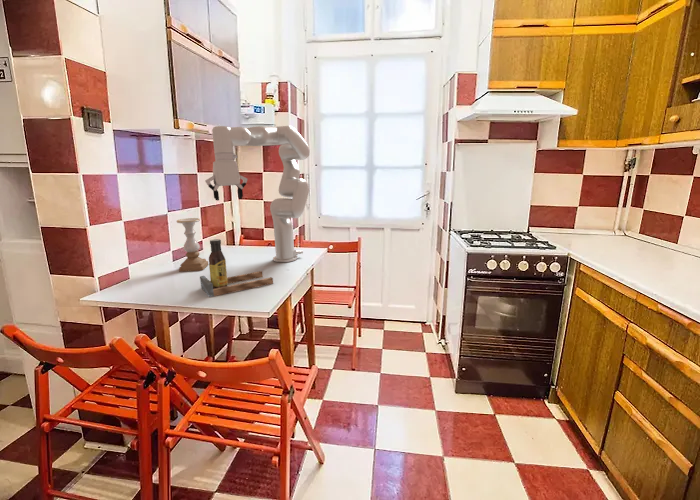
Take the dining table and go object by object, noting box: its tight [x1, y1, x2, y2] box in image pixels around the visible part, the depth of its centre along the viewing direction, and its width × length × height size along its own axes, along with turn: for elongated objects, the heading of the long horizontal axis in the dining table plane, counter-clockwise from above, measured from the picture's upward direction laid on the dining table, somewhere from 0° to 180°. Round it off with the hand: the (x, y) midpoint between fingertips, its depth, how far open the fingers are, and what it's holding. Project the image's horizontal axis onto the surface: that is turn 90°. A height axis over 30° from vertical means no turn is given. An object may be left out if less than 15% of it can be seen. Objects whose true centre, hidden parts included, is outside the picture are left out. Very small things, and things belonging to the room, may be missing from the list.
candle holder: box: [176, 217, 209, 273], centre depth 176 cm, size 11×11×24 cm
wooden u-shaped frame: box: [199, 270, 274, 298], centre depth 150 cm, size 26×13×5 cm, turn 124°
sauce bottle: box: [208, 238, 229, 289], centre depth 144 cm, size 7×6×20 cm
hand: (228, 199), depth 155 cm, fingers open, 9 cm apart
